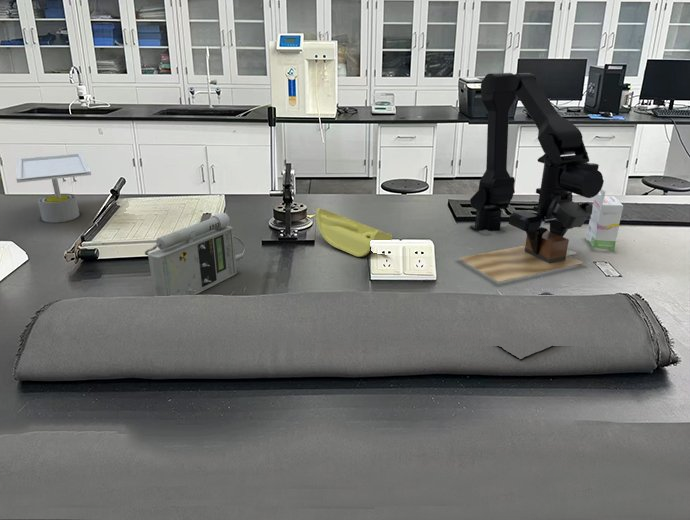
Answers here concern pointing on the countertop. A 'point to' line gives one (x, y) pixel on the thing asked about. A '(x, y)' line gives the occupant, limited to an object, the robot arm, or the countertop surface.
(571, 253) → the chalk patch
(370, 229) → the plastic component
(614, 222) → the ink box
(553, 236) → the brown boxy piece
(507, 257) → the board
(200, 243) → the geiger counter
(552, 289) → the countertop surface
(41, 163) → the solar panel model
